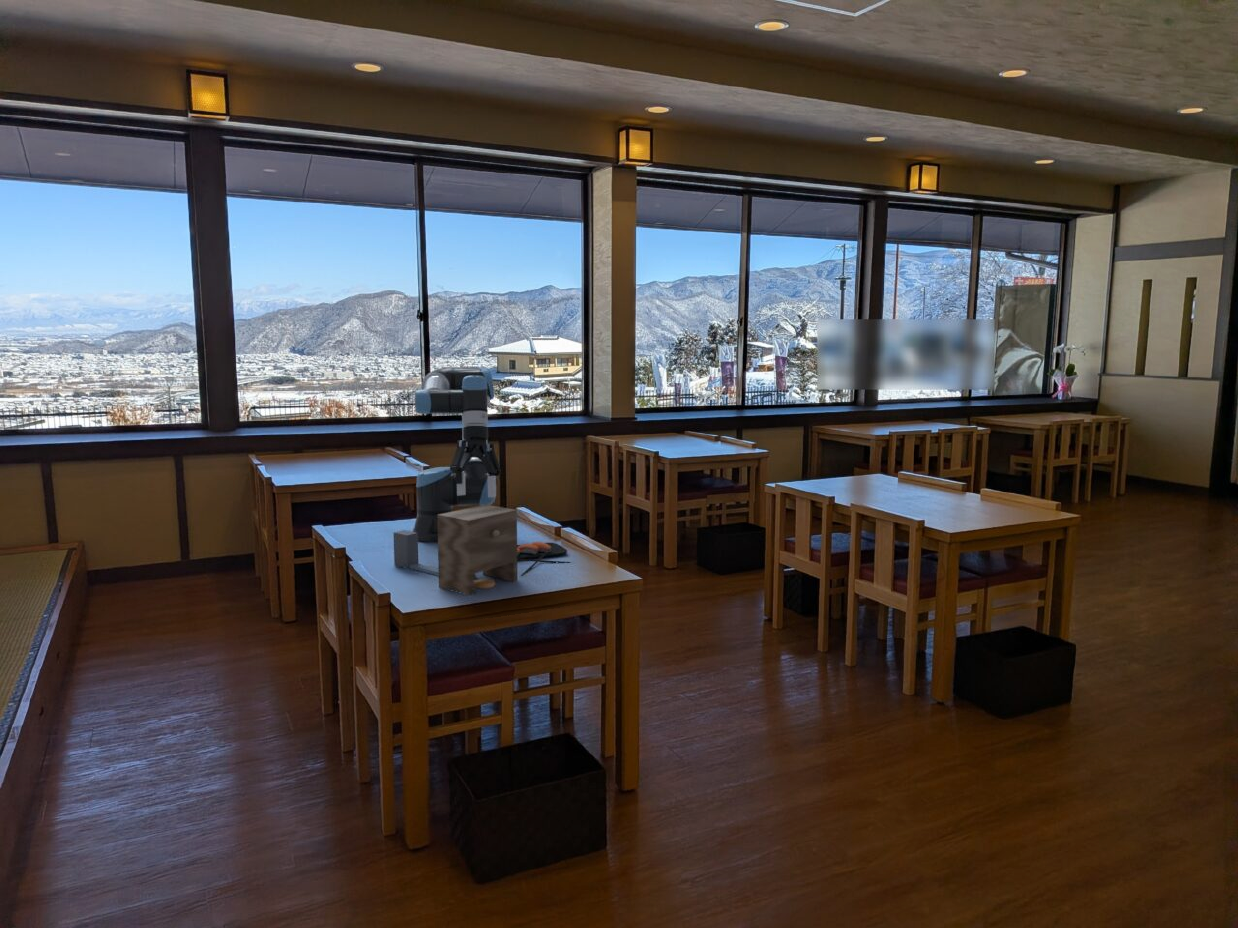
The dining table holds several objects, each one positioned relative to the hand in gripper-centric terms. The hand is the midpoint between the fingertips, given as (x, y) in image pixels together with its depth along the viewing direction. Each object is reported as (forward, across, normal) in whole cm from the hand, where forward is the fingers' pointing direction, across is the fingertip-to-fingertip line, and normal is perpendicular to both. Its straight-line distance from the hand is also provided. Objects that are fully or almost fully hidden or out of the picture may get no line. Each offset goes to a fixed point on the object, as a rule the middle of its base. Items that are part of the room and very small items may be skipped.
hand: (477, 496), depth 257 cm
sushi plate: (+21, +11, -10) cm, 25 cm away
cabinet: (+26, -15, -14) cm, 33 cm away
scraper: (+22, -14, +5) cm, 27 cm away
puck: (+26, -15, -16) cm, 34 cm away
